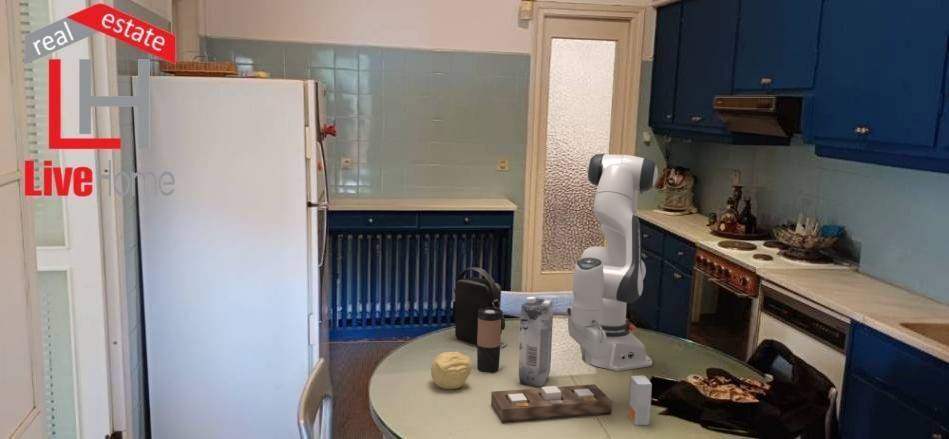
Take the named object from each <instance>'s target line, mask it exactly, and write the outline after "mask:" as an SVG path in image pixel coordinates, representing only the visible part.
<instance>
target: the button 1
mask: <svg viewBox="0 0 949 439" xmlns="http://www.w3.org/2000/svg"><path fill="white" fill-rule="evenodd" d="M508 401H509V403H510V404H516V403H527V399H526V397H525V396H524V394H523V393H521V394H508Z"/></svg>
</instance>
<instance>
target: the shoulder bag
mask: <svg viewBox="0 0 949 439" xmlns="http://www.w3.org/2000/svg"><path fill="white" fill-rule="evenodd" d="M469 271H475V272H477V273H479V274H480V275H481V276H483V277H484V278H485V279H484V278H480V277H475V276H474V277H471V276H470V277H466V278H465V275H466V274H467V272H469ZM453 292H454V294H455V300H453V302H452V317H453V318H454V326H455V329H454V333H452V334H449V335H448V336H445V337H444V339H447V340H451V341H455V342H458V343H463V344H465V345H470V346H473V347H475V348H477V335H478V310H479V309H480V308H481V309H486V308H487V307H494V308H498V309H500V310H501V299H502V286H501V284H499V283H496V282H495V280H494V279H493V277H492V276H491V274H489V273H488V272H487V271H486V270H485V269H483V268H481V267H476V266H474V267H471V266H470V267H468V268H465V269H463V270H462V271H461V272H460V273H459V276H458V278H457V281H456V283H455V286H454V287H453ZM505 329H506V318H505V317H504V312H503V310H501V335H502V334H503V331H504V330H505ZM502 330H503V331H502ZM506 346H507V344H506V343H503V342H501V344H500V349H501V348H504V347H506Z"/></svg>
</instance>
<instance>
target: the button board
mask: <svg viewBox="0 0 949 439" xmlns="http://www.w3.org/2000/svg"><path fill="white" fill-rule="evenodd" d="M556 387H557V388H558V389H559V390H560V391H561V400H553V401H544V400H543V399H542V397H541V388H542V387H536V388H525V389H524V388H522V389H509V390H496V391H491V393H490V394H491V397H490V405H491V407H492V409H493V411H494V412H495V414H496V416H497V417H498V419H499V420H500V423H501V424H510V423H511V424H512V423H521V422H522V423H523V422H532V421H533V422H534V421H536V422H537V421H545V420H558V419H568V418H571V419H572V418H581V417H582V418H583V417H593V416H605V415H607V416H608V415H612V407H613V400H612V399H610V397H608V395H607V394H606V393H605V392H604V391H602V389H601V388H599V386H598V385H597V384H596V383H595V384H593V383H592V384H582V385H581V384H579V385H569V386H567V385H565V386H564V385H563V386H556ZM577 389H589V390H590V391H591V392H592V393H593V394H594V397H592V398H582V399H578V398H577V397H576V396H575V395H574V390H577ZM521 393H523V394H524V396H525V397H526V399H527V403H516V404H510V403H509V401H508V394H521Z"/></svg>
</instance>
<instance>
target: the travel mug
mask: <svg viewBox="0 0 949 439" xmlns="http://www.w3.org/2000/svg"><path fill="white" fill-rule="evenodd" d="M501 311H502V310H501V308H500V309H498V308H494V307H487V308H486V309H481V308H480V309H479V310H478V335H477V347H476V353H477V354H476V358H477V359H476V361H477V362H476V364H477V365H476V366H477V367H476V369H477V371H479V372H481V373H485V374H486V373H487V374H492V373H497V372H498V371H499V370H500V361H501V360H500V358H501V357H500V356H501V348H500V344H501V343H502V342H501V340H502V339H501V337H502V336H501V335H502V334H501Z"/></svg>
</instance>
